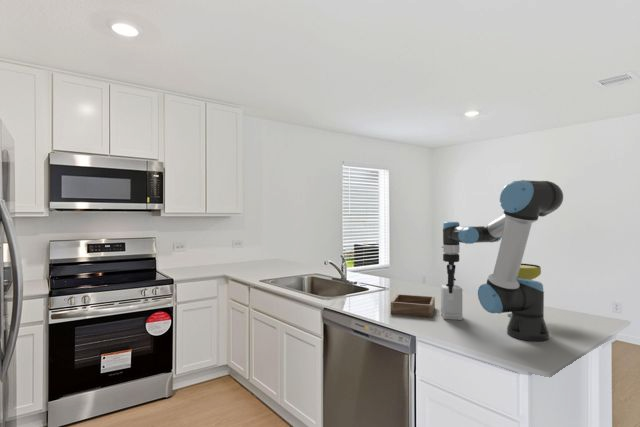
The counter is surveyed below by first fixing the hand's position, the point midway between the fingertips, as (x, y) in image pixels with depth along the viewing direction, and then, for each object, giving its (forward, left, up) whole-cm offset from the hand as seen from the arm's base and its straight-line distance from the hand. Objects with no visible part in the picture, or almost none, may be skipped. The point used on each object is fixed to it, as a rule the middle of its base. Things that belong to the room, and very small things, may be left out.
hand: (451, 296), depth 181 cm
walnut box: (+6, +19, -10) cm, 22 cm away
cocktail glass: (+12, -31, -10) cm, 35 cm away
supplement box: (0, 0, -10) cm, 10 cm away
